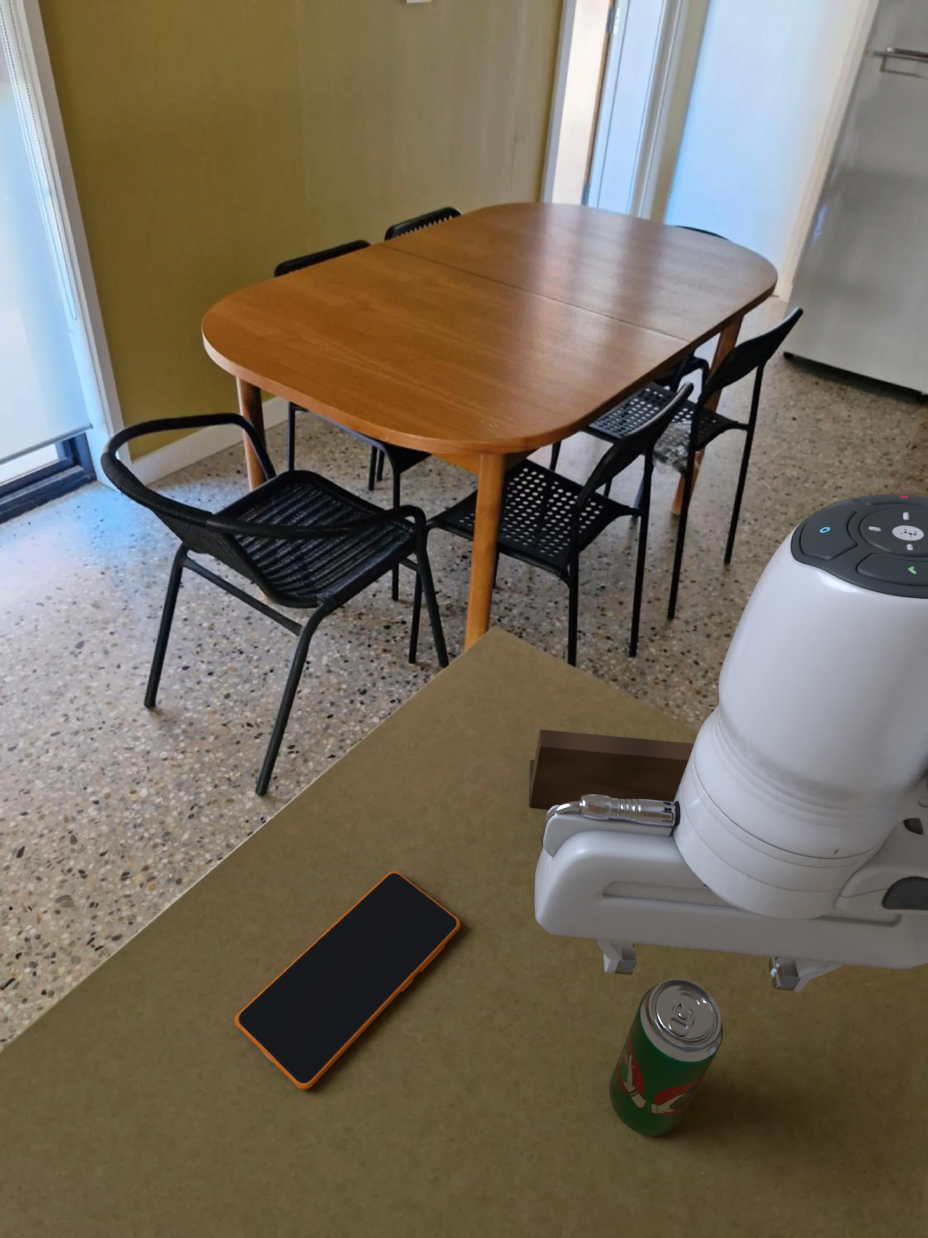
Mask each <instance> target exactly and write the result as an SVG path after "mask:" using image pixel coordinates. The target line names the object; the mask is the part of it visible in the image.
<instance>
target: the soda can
mask: <svg viewBox="0 0 928 1238" xmlns="http://www.w3.org/2000/svg"><path fill="white" fill-rule="evenodd" d="M722 1021H723V1020H722V1016H721V1012H720V1008H719V1006H718V1004H717V1002H716V1001H715V999H714V998H713V996H712V995H711V994H710V993H709V992H708V991H707V990H706V989H705V988H704V987H702V986H701V985H699V984H697V983H696V982H694V981H692V980H688V979H685V978H669V979H666V980H664V981H662V982H660V983H657V984H655V985H653V986H651V987H650V988H649V989H648V990H647V991H646V992H645V993H644V995H643V997H642V998H641V1000H640V1002H639V1005H638V1008H637V1010H636V1013H635V1015H634V1018H633V1021H632V1023H631V1025H630V1028H629V1031H628V1033H627V1036H626V1038H625V1041H624V1043H623V1046H622V1049H621V1050H620V1054H619V1057H618V1059H617V1062H616V1064H615V1066H614V1069H613V1071H612V1074H611V1077H610V1079H609V1085H608V1086H609V1087H608V1088H609V1089H608V1091H609V1098H610V1102H611V1106H612V1108H613V1110H614V1112H615V1113H616V1115H617V1116H618V1118H619V1119H620V1120H621V1122H623V1123H624V1124H625V1126H627V1128H630V1129H631V1131H632V1130H633V1131H634V1132H636V1133H637V1134H641V1135H644V1136H649V1137H657V1136H663V1135H666V1134H669V1133H670V1132H672V1131H674V1129H675V1128H676V1127H677V1126H678V1125H679V1123H680V1122H681V1120H682V1119H683V1116H685V1113H686V1111H687V1109H688V1107H689V1105H690V1103H691V1101H692V1100H693V1098H694V1096H695V1094H696V1093H697V1091H698V1089H699V1087H700V1085H701V1083H702V1081H703V1079H704V1077H705V1075H706V1073H707V1072H708V1070H709V1068H710V1066H711V1064H712V1062H713V1060H715V1057H716V1055H717V1053H718V1051H719V1050H720V1047H721V1045H722V1043H723V1037H724V1027H723V1026H724V1025H723V1022H722Z"/></svg>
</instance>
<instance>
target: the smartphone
mask: <svg viewBox="0 0 928 1238" xmlns="http://www.w3.org/2000/svg"><path fill="white" fill-rule="evenodd" d="M461 925H462V923H461V920H460V919H459V918H458V917H457V916H455V915H454V914H453V913H452V912H451V911H449V910H448V909H447V908H446V907H444V906H442V904H440V903H438V901H436V900H435V899H434V898H433V897H431V896H430V895H429V894H427V893H426V892H425V891H423V890H422V889H421V888H419V886H417V885H416V884H414V882H412V881H411V880H409V879H408V878H407V877H406V876H404V875H403V874H402V873H400V872H398V871H396V870H392V871H390V872H388V873H386V875H385V876H383V877H382V878H381V879H380V880H379V881H378V882H377V883H376V884H375V885H374V886H373V887H372V888H371V889H370V890H368V892H366V893H365V894H364V895H363V896H362V897H361V898H360V899H359V900H358V901H357V902H356V903H355V904H354V905H353V906H351V907H350V908H349V910H347V911H346V912H345V913H344V914H343V915H342V916H341V917H339V918H338V919H337V920H336V921H335V922H334V923H333V924H332V925H331V926H330V927H329V928H327V930H325V931H324V933H322V934H321V935H320V936H319V937H318V938H317V939H316V940H315V941H314V942H313V943H311V944H310V946H308V947H307V948H306V949H305V950H304V951H303V952H302V953H301V954H300V955H299V956H297V958H295V960H293V961H292V962H291V963H289V965H288V966H287V967H286V968H285V969H284V970H283V971H281V972H280V973H279V974H278V975H277V976H276V977H275V978H274V979H273V980H272V981H271V982H269V984H268V985H267V986H265V988H263V989H262V990H261V991H260V992H259V993H258V994H257V995H255V997H254V998H252V1000H250V1001H249V1002H248V1003H246V1005H245V1006H244V1007H243V1008H242V1009H240V1011H239V1012H237V1014H236V1015H235V1017H234V1025H235V1027H236V1028H237V1029H238V1030H239V1031H240V1032H241V1033H242V1034H243V1035H244V1037H246V1038H247V1040H249V1041H250V1042H251V1043H252V1044H253V1045H254V1046H255V1047H256V1048H257V1049H258V1051H260V1052H261V1053H262V1054H263V1055H264V1056H265V1057H266V1058H267V1059H268V1060H269V1061H270V1062H271V1063H272V1064H273V1065H274V1066H275V1067H276V1068H277V1069H278V1070H279V1071H280V1072H281V1073H282V1074H283V1075H284V1076H285V1077H286V1078H287V1079H288V1081H290V1082H291V1083H292V1084H293V1085H294V1086H295V1087H296V1088H297V1089H298V1090H300V1091H307V1090H309V1089H311V1088H312V1087H313V1086H314V1085H315V1084H316V1083H317V1082H318V1081H319V1079H320V1078H322V1076H323V1075H324V1074H326V1072H327V1071H328V1070H329V1069H330V1068H331V1067H332V1066H333V1065H334V1064H335V1062H336V1061H338V1059H339V1058H340V1057H341V1056H342V1055H343V1054H344V1053H345V1052H346V1051H347V1050H348V1049H349V1048H350V1047H351V1046H352V1045H353V1044H354V1042H355V1041H356V1040H357V1039H359V1037H360V1036H361V1035H362V1034H363V1032H365V1030H367V1028H369V1027H370V1025H371V1024H373V1022H374V1021H375V1020H376V1019H377V1018H378V1017H379V1015H380V1014H382V1013H383V1012H384V1010H385V1009H386V1008H388V1006H389V1005H390V1004H391V1003H392V1002H393V1001H394V1000H395V999H396V997H398V995H399V994H400V993H403V992H404V991H405V990H406V989H407V988H408V987H409V986H410V985H411V984H412V983H413V982H414V978H415V977H416V976H417V975H418V974H419V973H422V972H423V971H424V970H425V969H426V968H427V967H428V966H429V965H430V964H431V963H432V962H433V960H435V958H436V957H437V956H438V955H439V954H440V953H441V952H442V951H443V950H444V949H445V947H446V944H447V943H448V942H449V941H450V940H451V939H452V938H453V937H454V936H455V935H456V934H457V933H458V931H459V930H460V929H461Z"/></svg>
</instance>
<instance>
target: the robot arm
mask: <svg viewBox="0 0 928 1238" xmlns="http://www.w3.org/2000/svg"><path fill="white" fill-rule="evenodd" d="M717 690H718V704H717V706H716V707H715V709H714V710H713V711H712V712H711V713H710V714H709V715H708V717H707V718H706V719H705V720H704V722H703V724H702V725H701V727H700V728H699V731H698V733H697V736H696V738H695V741H694V743H693V744H694V746H693V749H692V752H691V755H690V758H689V761H688V763H687V766H686V769H685V772H684V774H683V777H682V780H681V783H680V785H679V788H678V791H677V794H676V797H675V799H674V802H669V801H659V800H649V799H631V800H630V799H625V800H624V799H618V798H610V796H606V795H599V794H589V795H582V796H581V799H580V801H573V802H567V803H564V804H561V805H555V806H553V807H551V808H550V809H548V811H547V813H546V814H545V815H546V816H545V818H544V820H543V824H542V830H541V833H540V841H541V844H542V850H541V853H540V855H539V858H538V861H537V864H536V869H535V875H534V917H535V922H536V923H537V924H539V926H540V927H541V928H542V929H543V930H544V931H545V932H547V933H548V934H549V935H551V936H552V935H553V936H557V937H566V938H576V939H587V940H595V943H596V945H598V947H599V948H600V950H601V951H602V952H603V969H604V973H606V974H616V975H630V976H632V975H633V973H634V969H635V968H636V965H637V963H638V958H637V950H636V949H635V945H636V944H638V945H647V946H656V947H657V946H658V947H667V948H678V949H689V950H697V951H707V952H716V953H717V952H718V953H727V954H738V955H748V956H756V957H757V956H759V957H767V958H769V961H768V971H769V974H770V976H771V977H772V980H771V984H772V988H773V989H774V990H778V991H779V990H780V991H787V992H793V993H794V992H795V993H802V992H803V991H804V990H805V988H806V986H807V985H808V983H809V982H810V980H814V979H816V978H818V977H822V976H823V975H826V974H828V973H831V972H834V971H837V970H839V969H841V968H843V966H844V965H849V966H858V967H868V968H880V969H888V970H897V971H905V970H906V971H907V970H910V969H914V968H917V967H920V966H924V965H926V964H928V496H923V495H922V496H921V495H915V494H903V493H882V494H881V493H880V494H871V495H864V496H863V495H862V496H856V497H851V498H847V499H843V500H840V501H837V502H833V503H831V504H828V505H827V506H824V507H823V508H821V509H819V510H817V511H815V512H814V513H812V514H810V515H809V516H808V517H806V518H805V519H804V520H802V521H801V522H800V523H798V524H797V525H796V526H795V527H794V529H792V530H791V531H790V533H789V534H788V535H787V536H786V537H785V538H784V540H783V541H782V542H781V544H780V545H779V546H778V548H777V549H776V551H775V552H774V553H773V554H772V556H771V558H770V559H769V561H768V562H767V564H766V566H765V567H764V570H763V571H762V573H761V575H760V577H759V579H758V581H757V582H756V585H755V586H754V589H753V590H752V592H751V594H750V597H749V599H748V601H747V603H746V604H745V607H744V609H743V612H742V614H741V616H740V619H739V620H738V623H737V626H736V628H735V631H734V634H733V636H732V638H731V641H730V643H729V646H728V649H727V652H726V654H725V657H724V660H723V663H722V665H721V668H720V672H719V678H718V689H717Z"/></svg>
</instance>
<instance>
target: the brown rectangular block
mask: <svg viewBox="0 0 928 1238" xmlns="http://www.w3.org/2000/svg"><path fill="white" fill-rule="evenodd" d="M693 746H694V743H691V742H680V741H672V740H671V741H670V740H661V739H659V740H658V739H650V738H649V739H648V738H640V737H639V738H638V737H628V736H617V735H616V736H615V735H605V734H596V733H595V734H594V733H586V732H585V733H584V732H573V731H562V730H553V729H552V730H551V729H539V733H538V739H537V745H536V750H535V757H534V759H530V760H529V772H528V773H529V775H528V777H529V779H528V782H529V785H528V787H529V788H528V789H529V793H528V794H529V795H528V798H529V799H528V803H529V804H528V806H529V808H533V809H544V810H550V808H551V807H553V806H555V805H561V804H564V803H567V802H573V801H580V799H581V796H582V795H589V794H599V795H606V796H610V798H618V799H624V800H625V799H630V800H631V799H649V800H659V801H669V802H674V799H675V797H676V794H677V791H678V788H679V785H680V783H681V780H682V777H683V774H684V772H685V769H686V766H687V763H688V761H689V758H690V755H691V752H692V749H693Z"/></svg>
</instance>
